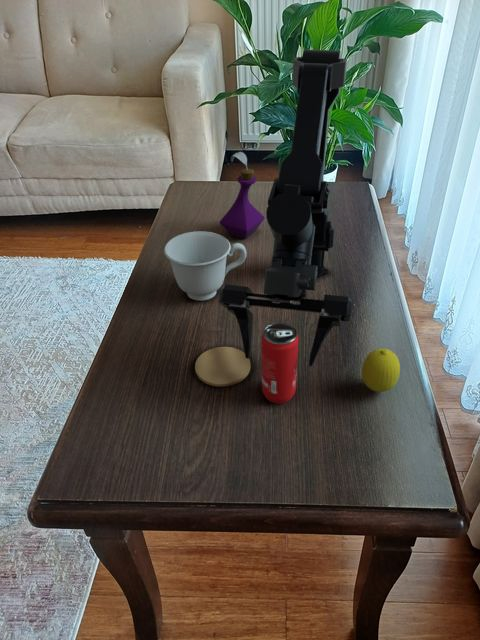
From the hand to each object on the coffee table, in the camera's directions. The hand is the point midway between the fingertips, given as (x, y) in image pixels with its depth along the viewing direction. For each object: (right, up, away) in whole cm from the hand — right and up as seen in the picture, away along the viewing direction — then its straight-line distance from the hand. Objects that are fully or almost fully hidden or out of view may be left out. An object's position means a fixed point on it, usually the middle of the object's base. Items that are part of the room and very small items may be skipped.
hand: (278, 362), depth 75 cm
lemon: (+15, -5, +6) cm, 17 cm away
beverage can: (0, -5, +5) cm, 7 cm away
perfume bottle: (-7, +28, +44) cm, 53 cm away
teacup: (-13, +13, +26) cm, 32 cm away
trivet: (-9, -1, +10) cm, 13 cm away
